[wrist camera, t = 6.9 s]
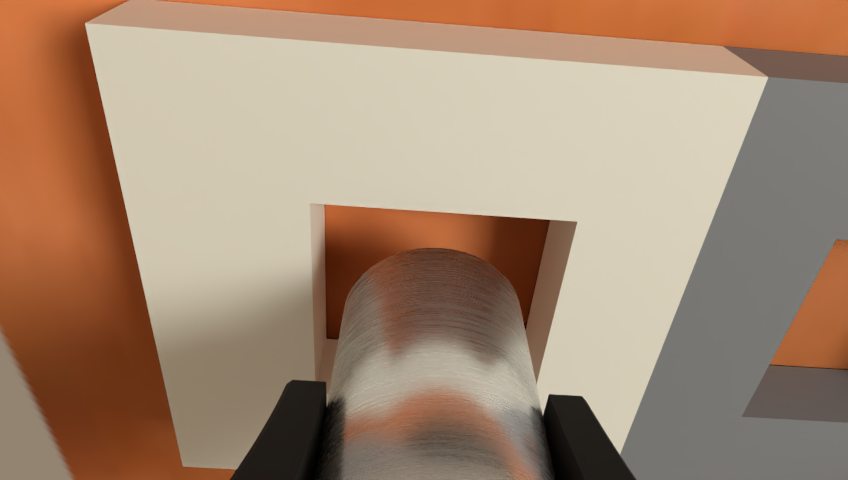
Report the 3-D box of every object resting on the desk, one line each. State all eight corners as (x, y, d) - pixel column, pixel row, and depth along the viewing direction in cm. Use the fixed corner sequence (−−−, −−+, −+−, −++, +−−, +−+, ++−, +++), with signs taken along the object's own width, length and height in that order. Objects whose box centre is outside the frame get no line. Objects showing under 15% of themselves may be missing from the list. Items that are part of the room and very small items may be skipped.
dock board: (1270, 90, 13) (1396, 126, 11) (958, 452, 19) (1008, 508, 18) (132, -2, 12) (84, 23, 10) (204, 410, 19) (182, 466, 17)
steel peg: (535, 254, 13) (660, 714, 6) (506, 388, 15) (573, 836, 8) (344, 241, 12) (249, 699, 6) (343, 379, 15) (273, 828, 8)
